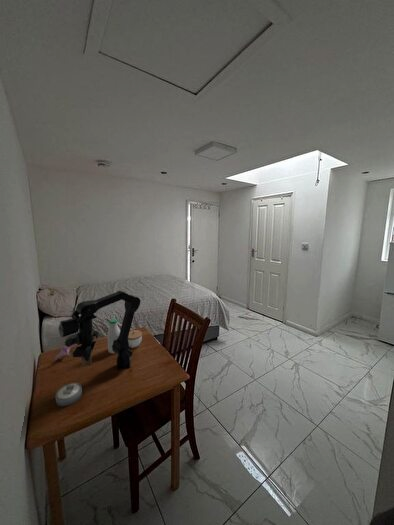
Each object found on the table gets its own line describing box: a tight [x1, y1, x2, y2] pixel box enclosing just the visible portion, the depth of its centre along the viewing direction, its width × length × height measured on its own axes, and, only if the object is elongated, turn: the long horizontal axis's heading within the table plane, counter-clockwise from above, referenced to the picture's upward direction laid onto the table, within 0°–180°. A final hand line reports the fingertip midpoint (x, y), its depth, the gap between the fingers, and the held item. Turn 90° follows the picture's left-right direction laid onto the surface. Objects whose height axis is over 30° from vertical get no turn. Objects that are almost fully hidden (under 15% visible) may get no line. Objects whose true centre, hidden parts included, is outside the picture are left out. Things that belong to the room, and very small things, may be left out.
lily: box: [55, 344, 76, 361], centre depth 121 cm, size 12×12×10 cm
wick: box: [81, 352, 93, 367], centre depth 100 cm, size 4×1×7 cm, turn 101°
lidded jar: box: [128, 329, 143, 349], centre depth 136 cm, size 11×11×9 cm
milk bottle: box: [106, 318, 121, 354], centre depth 129 cm, size 8×8×20 cm
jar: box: [55, 382, 83, 407], centre depth 94 cm, size 10×10×4 cm
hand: (87, 359), depth 100 cm, fingers closed on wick, 1 cm apart
